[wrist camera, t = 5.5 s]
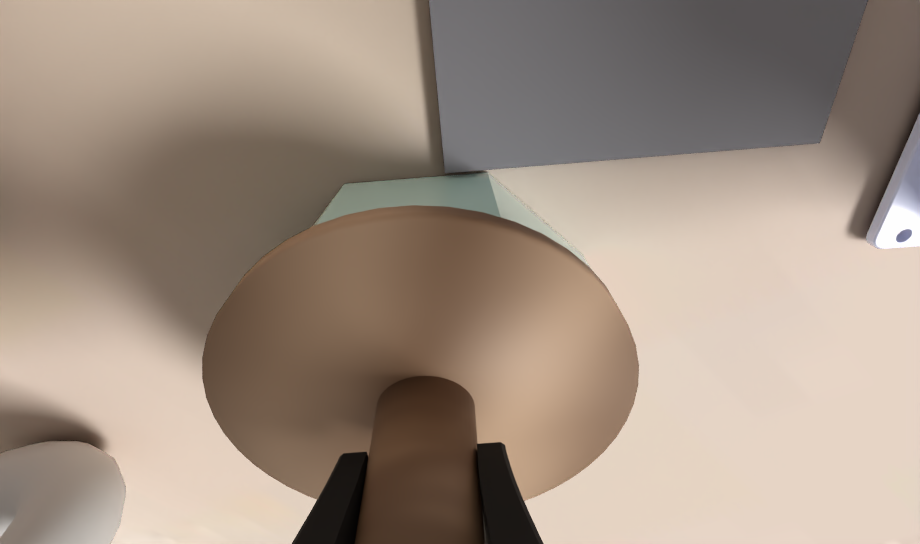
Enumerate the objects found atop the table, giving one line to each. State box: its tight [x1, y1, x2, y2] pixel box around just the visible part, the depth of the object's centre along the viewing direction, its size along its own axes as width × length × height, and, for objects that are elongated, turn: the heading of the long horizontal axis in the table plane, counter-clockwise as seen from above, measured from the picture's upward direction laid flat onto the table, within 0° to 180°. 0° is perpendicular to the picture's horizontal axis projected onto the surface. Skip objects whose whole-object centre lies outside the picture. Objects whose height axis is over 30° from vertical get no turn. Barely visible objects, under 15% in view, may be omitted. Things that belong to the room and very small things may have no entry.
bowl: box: [312, 172, 592, 270], centre depth 15 cm, size 12×12×4 cm
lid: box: [202, 205, 639, 544], centre depth 11 cm, size 12×12×5 cm
